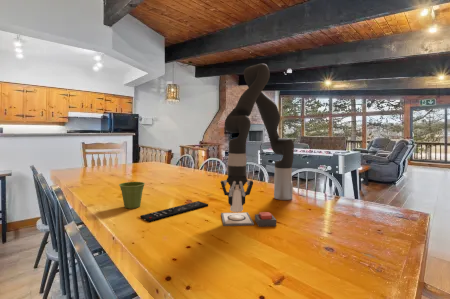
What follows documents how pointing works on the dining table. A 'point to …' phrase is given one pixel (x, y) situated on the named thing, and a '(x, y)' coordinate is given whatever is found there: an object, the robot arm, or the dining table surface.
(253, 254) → the dining table surface
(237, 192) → the salt shaker
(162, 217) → the remote control
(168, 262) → the dining table surface
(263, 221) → the button housing
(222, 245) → the dining table surface
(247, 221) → the board
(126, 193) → the plant pot
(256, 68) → the robot arm
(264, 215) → the button
